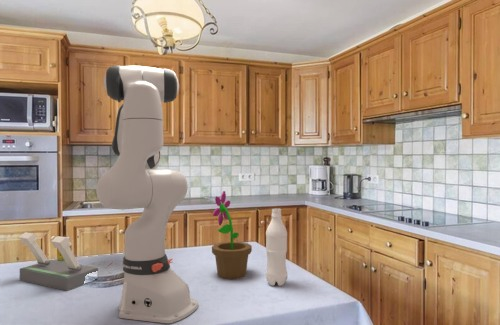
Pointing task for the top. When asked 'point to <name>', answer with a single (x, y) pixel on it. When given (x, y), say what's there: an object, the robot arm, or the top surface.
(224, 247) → the flowerpot
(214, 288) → the top surface
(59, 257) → the supplement bottle
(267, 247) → the water bottle
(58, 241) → the lever
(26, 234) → the on lever
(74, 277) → the switch box
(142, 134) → the robot arm
